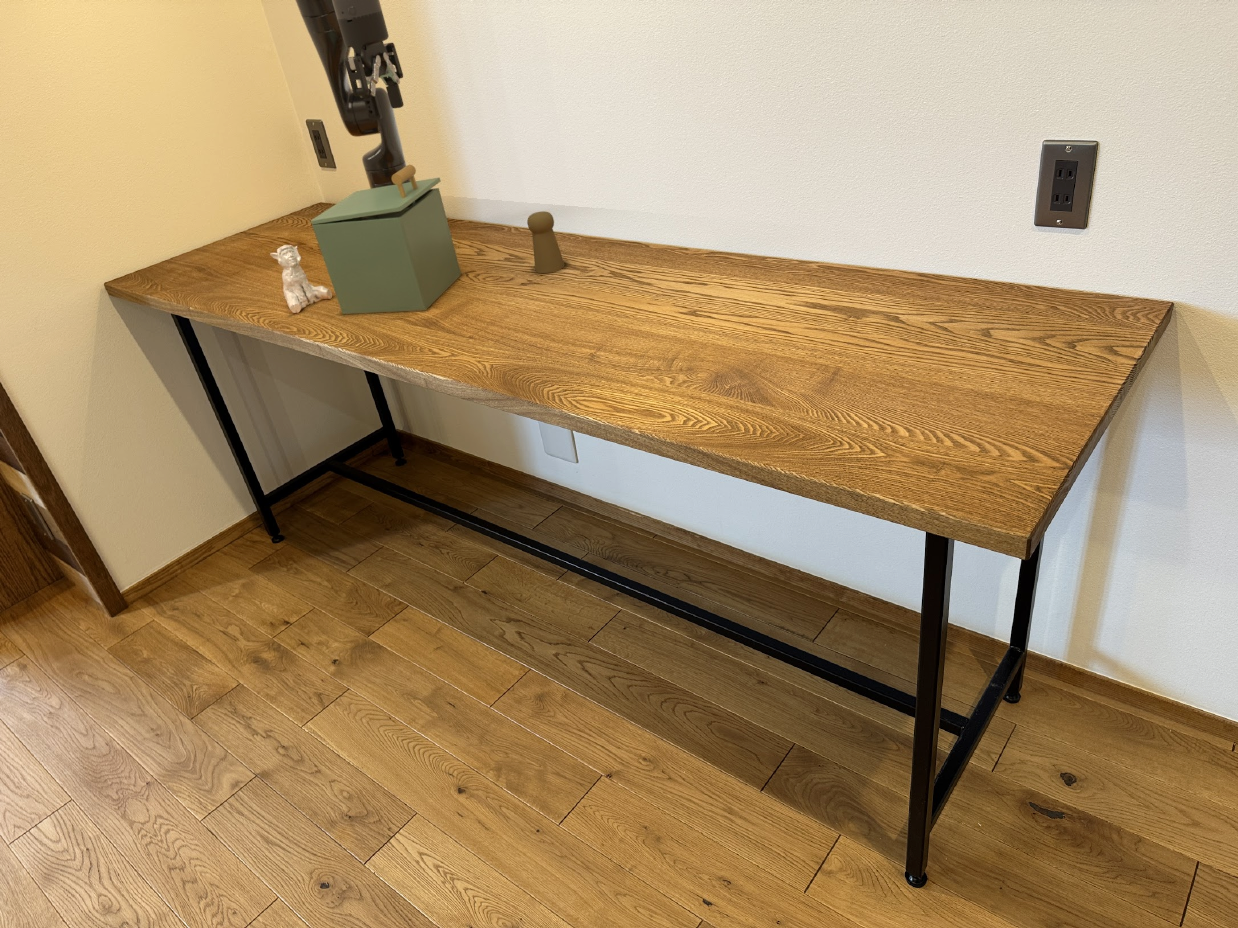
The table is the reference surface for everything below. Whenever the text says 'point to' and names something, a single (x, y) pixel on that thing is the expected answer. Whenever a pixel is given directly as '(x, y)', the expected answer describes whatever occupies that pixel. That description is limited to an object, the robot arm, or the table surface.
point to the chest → (391, 258)
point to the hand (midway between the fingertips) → (387, 113)
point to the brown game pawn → (544, 243)
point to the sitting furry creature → (297, 280)
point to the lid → (379, 198)
